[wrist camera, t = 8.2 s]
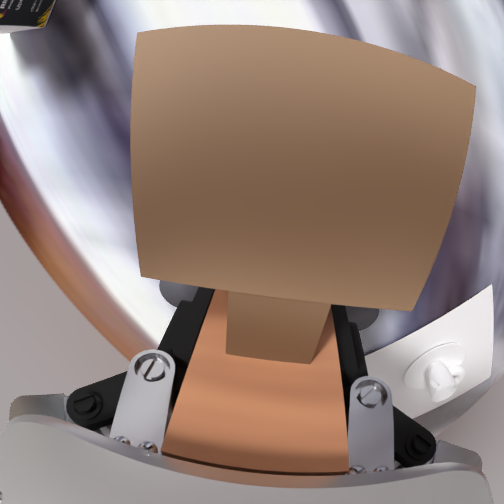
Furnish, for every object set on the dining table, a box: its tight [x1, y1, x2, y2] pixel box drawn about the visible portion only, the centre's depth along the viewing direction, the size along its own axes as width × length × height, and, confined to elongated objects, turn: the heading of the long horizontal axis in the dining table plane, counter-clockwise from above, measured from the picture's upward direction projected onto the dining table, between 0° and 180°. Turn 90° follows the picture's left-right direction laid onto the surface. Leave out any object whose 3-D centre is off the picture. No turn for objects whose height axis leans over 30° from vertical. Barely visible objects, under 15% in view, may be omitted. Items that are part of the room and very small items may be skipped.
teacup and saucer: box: [403, 342, 467, 403], centre depth 23 cm, size 9×8×4 cm
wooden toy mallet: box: [131, 25, 476, 476], centre depth 10 cm, size 22×6×8 cm, turn 175°
